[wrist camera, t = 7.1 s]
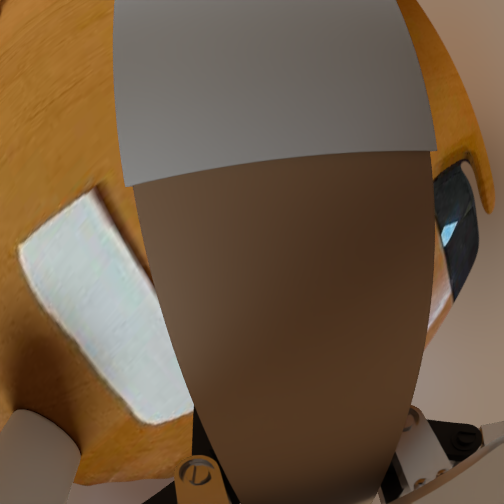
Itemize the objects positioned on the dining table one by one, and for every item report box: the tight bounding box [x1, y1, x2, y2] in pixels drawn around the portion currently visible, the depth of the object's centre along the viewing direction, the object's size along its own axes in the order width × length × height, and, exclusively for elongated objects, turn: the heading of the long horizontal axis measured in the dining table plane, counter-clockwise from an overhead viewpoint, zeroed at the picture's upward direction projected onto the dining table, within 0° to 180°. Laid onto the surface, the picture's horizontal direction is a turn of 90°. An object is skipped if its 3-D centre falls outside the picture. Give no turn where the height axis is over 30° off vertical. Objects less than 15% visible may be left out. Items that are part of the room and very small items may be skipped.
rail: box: [113, 0, 437, 504], centre depth 8 cm, size 22×4×6 cm, turn 9°
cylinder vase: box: [0, 409, 81, 504], centre depth 14 cm, size 12×12×25 cm
